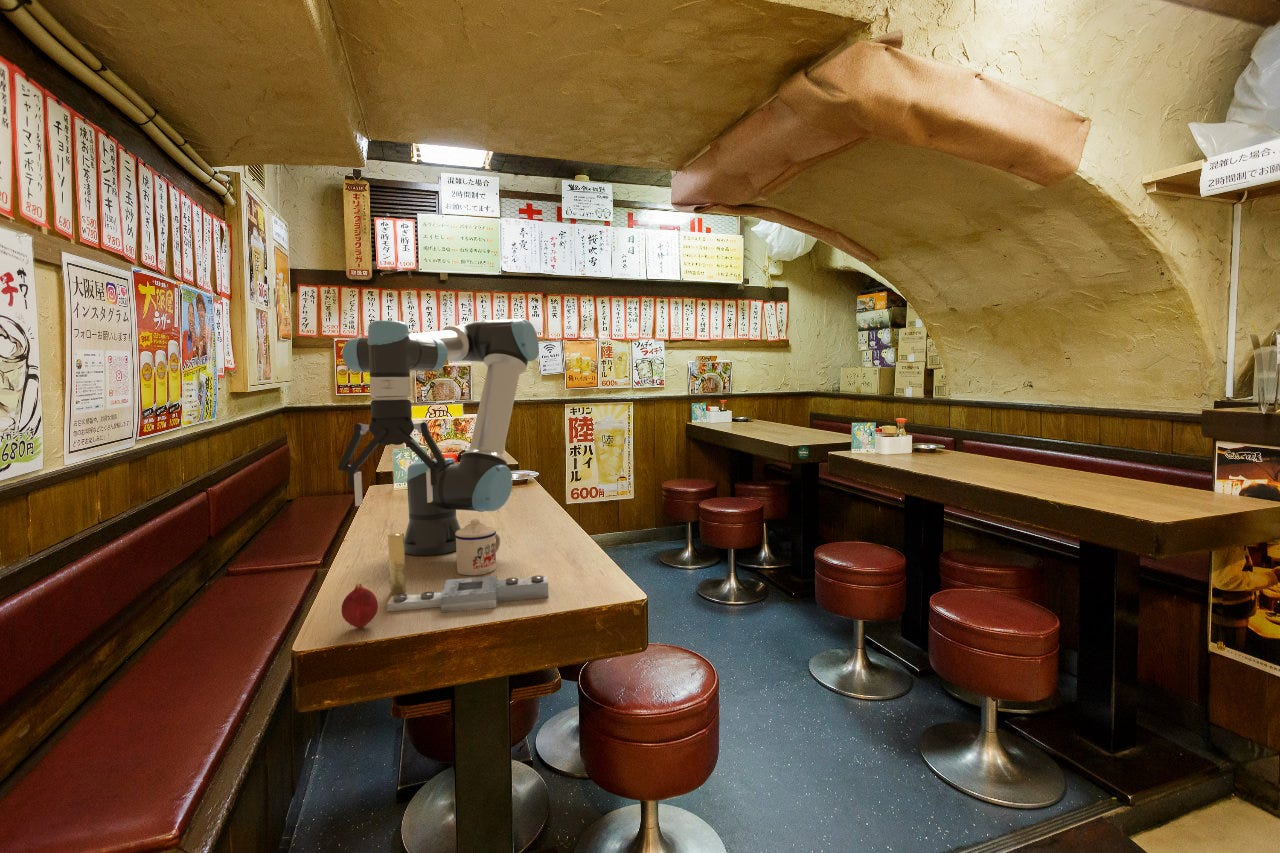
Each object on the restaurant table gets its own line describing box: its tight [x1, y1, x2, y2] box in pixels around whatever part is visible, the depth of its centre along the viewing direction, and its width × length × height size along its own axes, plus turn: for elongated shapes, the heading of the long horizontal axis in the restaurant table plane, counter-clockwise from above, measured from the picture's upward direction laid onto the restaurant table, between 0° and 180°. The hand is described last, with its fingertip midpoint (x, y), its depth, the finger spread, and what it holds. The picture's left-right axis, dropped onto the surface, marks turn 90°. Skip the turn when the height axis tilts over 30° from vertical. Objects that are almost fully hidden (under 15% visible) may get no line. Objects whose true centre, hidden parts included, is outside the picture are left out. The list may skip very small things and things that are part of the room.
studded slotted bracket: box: [386, 575, 549, 613], centre depth 117 cm, size 10×30×4 cm, turn 102°
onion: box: [341, 582, 379, 629], centre depth 104 cm, size 6×6×8 cm
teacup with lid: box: [455, 518, 501, 577], centre depth 137 cm, size 12×9×12 cm
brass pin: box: [387, 532, 407, 595], centre depth 122 cm, size 3×3×12 cm
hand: (395, 503), depth 121 cm, fingers open, 13 cm apart
